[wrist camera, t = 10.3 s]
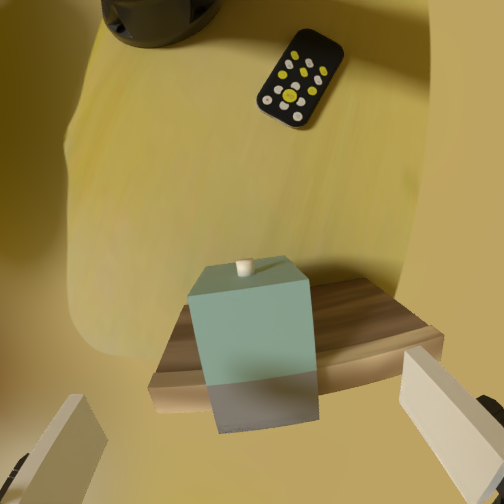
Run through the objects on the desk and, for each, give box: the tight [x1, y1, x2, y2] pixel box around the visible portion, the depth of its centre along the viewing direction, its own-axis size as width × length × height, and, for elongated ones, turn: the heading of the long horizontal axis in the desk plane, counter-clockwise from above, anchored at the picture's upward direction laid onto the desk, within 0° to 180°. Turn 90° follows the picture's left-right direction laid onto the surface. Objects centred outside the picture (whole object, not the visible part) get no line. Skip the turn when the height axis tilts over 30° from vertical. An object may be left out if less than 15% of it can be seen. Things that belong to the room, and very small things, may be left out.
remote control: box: [256, 29, 344, 128], centre depth 31 cm, size 6×13×2 cm, turn 152°
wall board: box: [148, 278, 444, 413], centre depth 28 cm, size 2×22×17 cm, turn 98°
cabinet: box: [187, 256, 319, 434], centre depth 23 cm, size 11×7×10 cm, turn 8°
